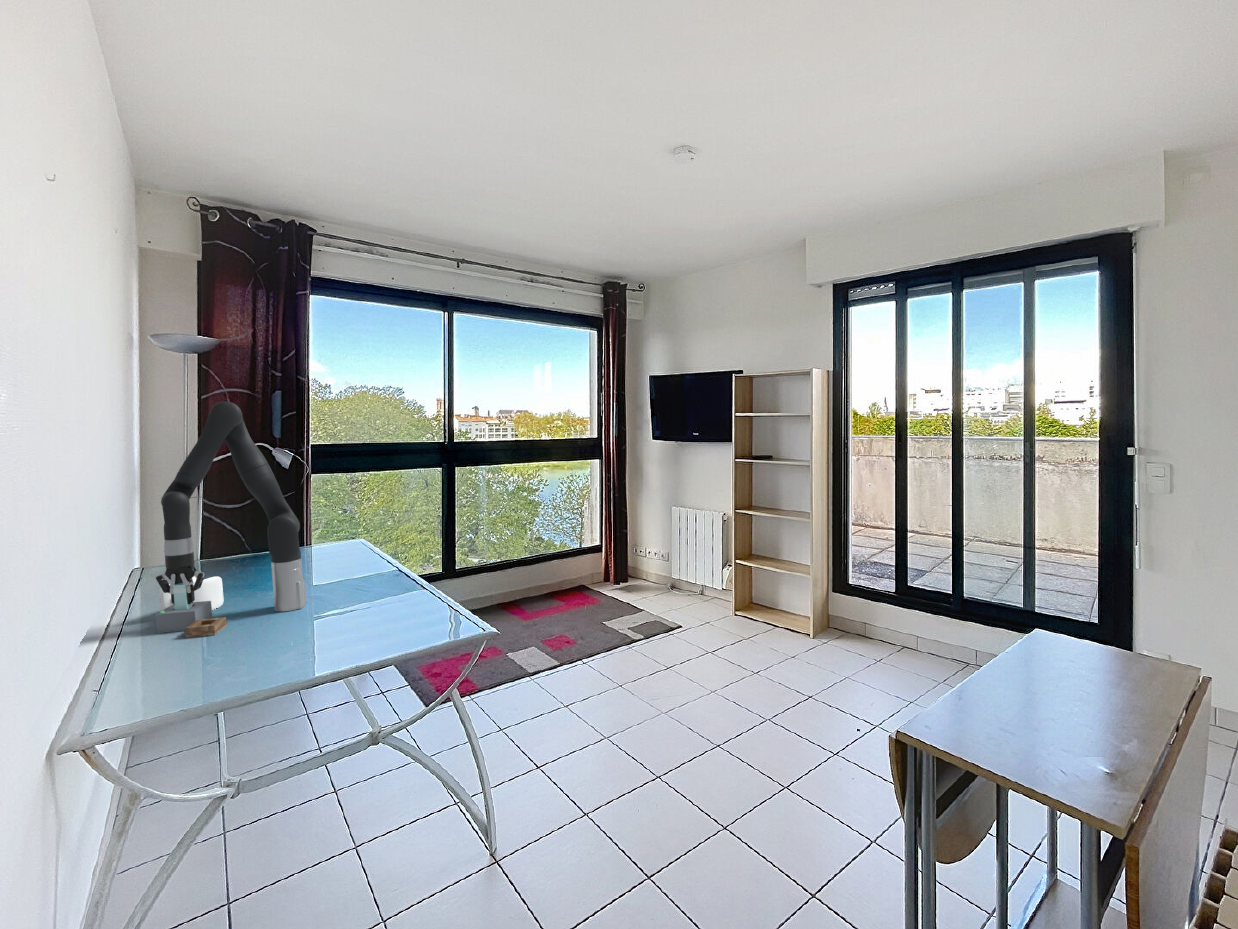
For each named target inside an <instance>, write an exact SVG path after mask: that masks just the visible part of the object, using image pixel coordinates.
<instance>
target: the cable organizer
mask: <svg viewBox="0 0 1238 929" xmlns="http://www.w3.org/2000/svg"><path fill="white" fill-rule="evenodd" d="M192 579H193V585H194V584H195V582H196V579H197V578H196V575H194V576H193V578H192ZM169 585H170V583H169ZM223 590H224V588H223V579H222V578H221V576H212V577H208V578H204V580H203V582H202V585H201V588H199V589H198V590H196V591H194V597H195V600H194V601H193V602H202V601H211V607H212V610H213V611H215V610H217V609H216V608H218V609H219V608H220V607H221V606H223V604H224V602H225V601H224V600H225V599H224V591H223ZM158 593H159V594H158V595H159V596H158V597H159V604H160V606H159V607H160V612H161V611H162V610H164V609H166V608H168V607H169V606H171V605H173V604H172V600H171V594H170V593H164V592H163V590H162V588H161V587H160V588H159V591H158ZM214 609H215V610H214Z"/></svg>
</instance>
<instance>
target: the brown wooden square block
mask: <svg viewBox="0 0 1238 929" xmlns="http://www.w3.org/2000/svg"><path fill="white" fill-rule="evenodd" d="M225 626H226V627H227V617H226V616H224V617H212V618H211V619H200V620H197V621H195V622H194V623H192V624H191V625H189V626H188V627H186V628H185V631H184V632H185V638H186V639H187V638H199V637H207V636H206V635H210V636H214V635H213V634H216V633H217V632H218V633H220V632H221V631H222V630H224V629H225V628H226V627H225ZM224 627H225V628H224ZM223 628H224V629H223ZM221 629H222V630H221ZM220 630H221V631H220ZM219 631H220V632H219ZM218 633H217V634H218ZM217 634H216V635H217Z"/></svg>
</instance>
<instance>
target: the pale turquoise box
mask: <svg viewBox="0 0 1238 929" xmlns="http://www.w3.org/2000/svg"><path fill="white" fill-rule="evenodd" d="M188 583H189V582H188ZM173 593H174V603H175V610H184V609H190V608H191V607H192V603H191V604H188V603H187V590H186V586H185V585H184V584H183V583H178V584H175V585H173Z"/></svg>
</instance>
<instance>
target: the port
mask: <svg viewBox="0 0 1238 929" xmlns="http://www.w3.org/2000/svg"><path fill="white" fill-rule="evenodd" d="M154 615H155V616H154V617H155V626H156V634H160V633H162V634H164V633H172V632H173V633H174V632H180V631H181V632H183V631H184V632H185V628H186V627H188V626H189V625H191V624H192V623H194V622H195V621H197V620H200V619H211V618H213V611H212V607H211V601H202V602H193V603H192V607H191V608H190V609H184V610H175V605H174V604H173V605H171V606H169V607H168V608H166V609H164V610H162V611H161V610H160V611H159V612H157V613H156V614H154Z"/></svg>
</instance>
